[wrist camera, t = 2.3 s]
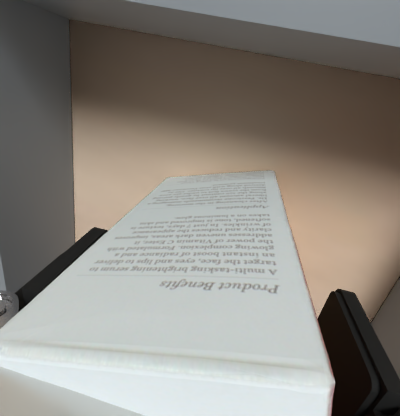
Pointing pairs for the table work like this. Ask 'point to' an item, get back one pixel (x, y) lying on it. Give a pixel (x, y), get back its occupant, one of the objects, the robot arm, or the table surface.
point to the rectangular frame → (164, 26)
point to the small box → (184, 309)
